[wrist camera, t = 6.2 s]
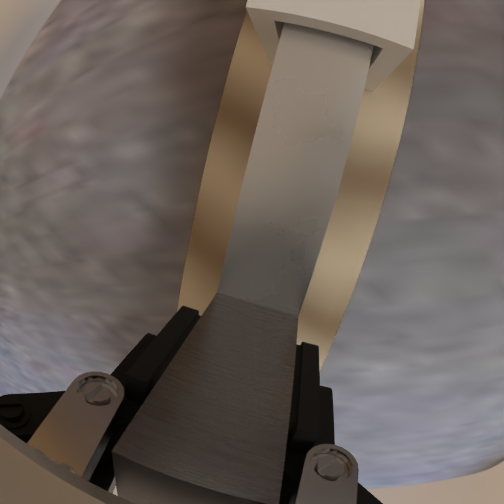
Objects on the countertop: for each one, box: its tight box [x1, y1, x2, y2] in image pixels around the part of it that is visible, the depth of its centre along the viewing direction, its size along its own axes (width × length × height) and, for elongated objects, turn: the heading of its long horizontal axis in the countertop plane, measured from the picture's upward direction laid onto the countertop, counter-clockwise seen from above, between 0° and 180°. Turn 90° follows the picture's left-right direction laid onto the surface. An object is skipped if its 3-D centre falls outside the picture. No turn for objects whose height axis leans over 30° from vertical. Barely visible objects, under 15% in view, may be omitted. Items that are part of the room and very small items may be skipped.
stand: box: [177, 0, 424, 372], centre depth 12 cm, size 33×9×8 cm, turn 166°
